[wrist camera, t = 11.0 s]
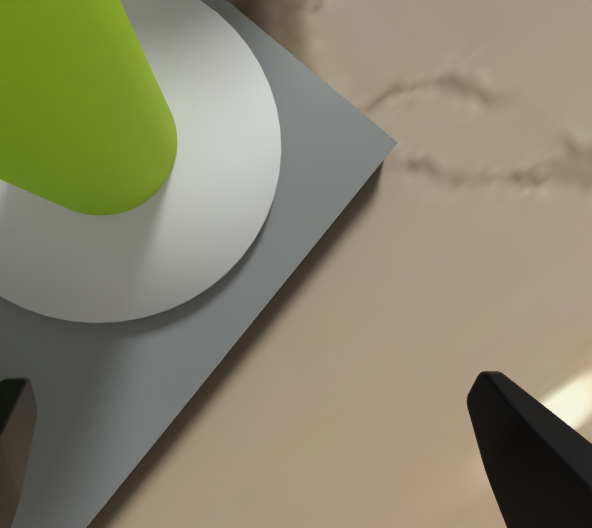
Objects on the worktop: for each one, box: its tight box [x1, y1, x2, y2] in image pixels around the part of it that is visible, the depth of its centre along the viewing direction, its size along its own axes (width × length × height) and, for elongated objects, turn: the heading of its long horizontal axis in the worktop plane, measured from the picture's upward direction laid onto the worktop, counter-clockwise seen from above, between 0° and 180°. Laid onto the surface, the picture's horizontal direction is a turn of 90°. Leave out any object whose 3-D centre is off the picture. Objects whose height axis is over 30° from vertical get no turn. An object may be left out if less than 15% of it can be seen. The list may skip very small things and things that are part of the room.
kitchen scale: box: [0, 0, 397, 528], centre depth 19 cm, size 22×18×6 cm
